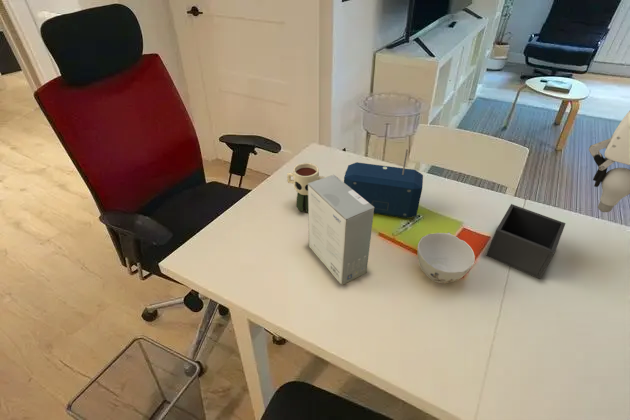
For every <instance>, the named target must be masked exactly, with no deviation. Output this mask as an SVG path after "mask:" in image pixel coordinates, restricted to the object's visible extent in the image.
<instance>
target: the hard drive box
mask: <svg viewBox="0 0 630 420" xmlns="http://www.w3.org/2000/svg"><path fill="white" fill-rule="evenodd" d="M324 177H325V178H322V179H319V180H316V181H314V182H311V183H308V212H307V214H308V215H307V216H308V217H307V218H308V219H307V220H308V247H309V248H310V249H311V250H312V252H313V254H314V255H316V257H317V258H318V259H319V260H320V261H321V263H322V264H323V265H324V266H325V267H326V268H327V269H328V271H329V272H330V273H331V274H332V276H333V277H334V278H335V279H336V280H337V282H338V283H339V284H340V285H346V284H347V283H349V282H351V281H353V280H355V279H357V278H359V277H361V276H363V275H365V274H367V271H368V263H369V255H370V246H371V238H372V230H373V222H374V214H375V213H374V208H375V207H373V206H372V205H371V204H370V203H369V202H367V201H366V200H365V199H364V198H362V197H361V196H360V195H359V194H358V193H356V192H355V191H354V190H352V189H351V188H350V187H349V186H347V185H346V184H345V183H344V180H342V179H340V178H339V177H338V176H336V174H331V175H328V176H324Z"/></svg>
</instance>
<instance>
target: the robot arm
mask: <svg viewBox="0 0 630 420" xmlns="http://www.w3.org/2000/svg"><path fill="white" fill-rule="evenodd" d="M603 149H605V151H604V154H602V153H601V150H603ZM588 152H589V153H590V155H591V156H592V158H593V161H594V162H595V164H596V165H597V170H596V172H595V174H594V176H593V178H592V181H594V185H593V187H595V188H599V186H601V185H600V184H601V181H602V179H603V177H604V176H605V174H606V173H607V172H608V168H609V167H610V166H611V165H613V164H614V163H618V164H623V165H627V166H630V110H628V111H627V113H626V114H625V116H624V117H623V118H622V119H621V121H620V122H619V124H618V126H617V127H616V128H615V130H614V131H613V133H612V135H611V137H610V138H607V139H604V140H602V141H599V142H597V143H593V144H591V145H590V146H589V147H588Z"/></svg>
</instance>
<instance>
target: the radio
mask: <svg viewBox="0 0 630 420" xmlns="http://www.w3.org/2000/svg"><path fill="white" fill-rule="evenodd" d="M408 152H409V149H405V155H404V160H403V167H396V166H388V165H381V164H373V163H365V162H354V163H351V164H348V165H347V168H346V171H345V173H344V177H343V182H344V183H345V184H346V185H347V186H349V187H350V188H351V189H352V190H354V191H355V192H356V193H358V194H359V195H360V196H361V197H362V198H364V199H365V200H366V201H367V202H369V203H370V204H371V205H372V206H373V207H375V208H374V214H376V215H380V216H381V215H383V216H389V217H394V218H395V217H396V218H402V219H411V218H414V217H417V215H418V210H419V205H420V201H421V197H422V192H423V183H424V175H423V174H422V172H420V171H418V170H416V169H413V168H406V163H407V158H408Z"/></svg>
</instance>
